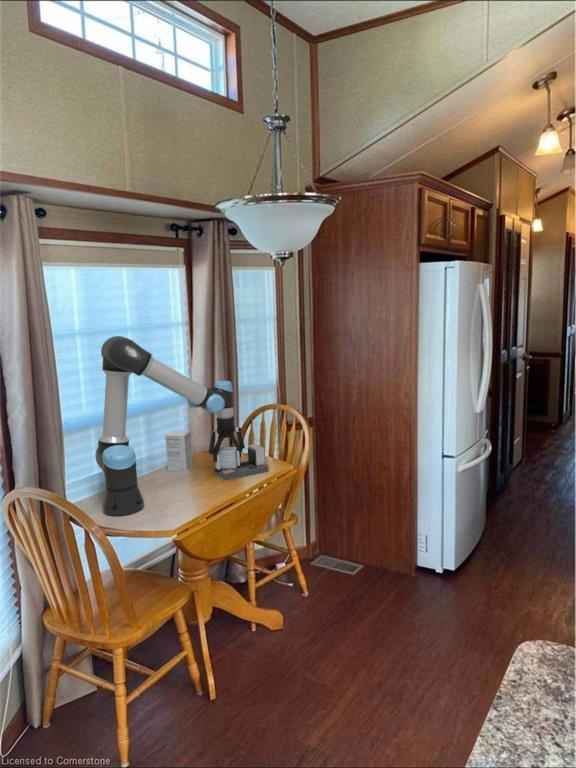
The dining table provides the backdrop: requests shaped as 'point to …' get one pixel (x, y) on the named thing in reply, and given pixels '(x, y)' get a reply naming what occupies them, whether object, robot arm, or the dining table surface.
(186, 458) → the supplement box
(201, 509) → the dining table surface
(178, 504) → the dining table surface
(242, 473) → the grey tray stand
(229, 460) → the medicine box
